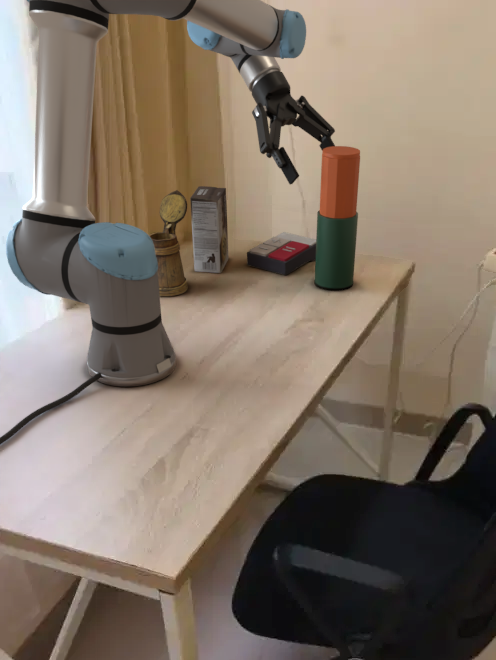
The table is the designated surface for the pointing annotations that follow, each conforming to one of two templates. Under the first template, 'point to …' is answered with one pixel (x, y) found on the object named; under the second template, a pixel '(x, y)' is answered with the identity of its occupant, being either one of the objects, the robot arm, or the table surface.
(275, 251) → the red and grey box
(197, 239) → the coffee box
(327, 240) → the flask
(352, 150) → the cap
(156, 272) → the robot arm
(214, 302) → the table surface
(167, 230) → the wooden mug
